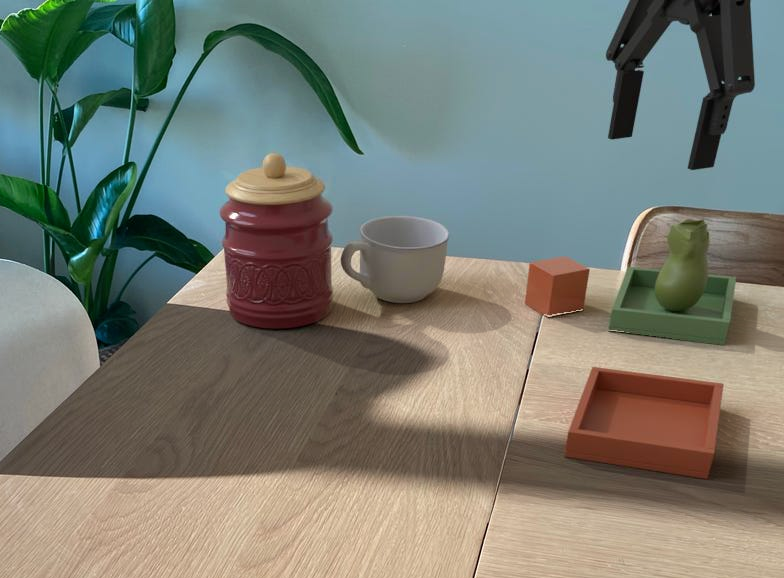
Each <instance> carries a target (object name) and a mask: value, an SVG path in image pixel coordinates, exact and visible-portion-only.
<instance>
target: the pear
mask: <svg viewBox="0 0 784 578" xmlns="http://www.w3.org/2000/svg"><path fill="white" fill-rule="evenodd" d="M707 229H708V223H706V222H705V220H704V219H700V220H695V219H693V218H687V219H685V220H683V221H682V222H680V223H676V224H674V225H671V227H670V230H669V232H668V233H667V238H666V239H667V245H668V248H669V255H668V258H667V259H666V260H665V262H664V264H663V266H662V268H661V269H660V270H661V271H660V273H659V275H658V277H657V280H656V283H655V296H656V299H657V301H658V303H659V304H660V305H661V306H662V307H664V308H665V309H668V310H671V311H683V310H686V309H689V308H691V307H692V306H694V305H695V304H696V303H697V302H698V301H699V299H700V298H701V296H702V294H703V292H704V290H705V287H706V284H707V279H708V274H709V262H708V251H709V248H710V232H709V231H708V230H707Z"/></svg>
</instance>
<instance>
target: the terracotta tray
mask: <svg viewBox="0 0 784 578" xmlns="http://www.w3.org/2000/svg"><path fill="white" fill-rule="evenodd" d="M723 390H724V383H721V382H714V381H707V380H700V379H699V380H698V379H693V378H692V379H691V378H683V377H674V376H667V375H660V374H652V373H643V372H636V371H630V370H629V371H627V370H622V369H621V370H620V369H613V368H605V367H597V366H592V367H591V369H590V372H589V375H588V377H587V380H586V383H585V385H584V388H583V391H582V394H581V395H580V399H579V401H578V404H577V407H576V409H575V412H574V415H573V418H572V420H571V423H570V426H569V428H568V431H567V435H566V436H567V437H566V443H565V447H564V448H565V449H564V455H563V457H565V458H569V459H577V460H583V461H589V462H595V463H602V464H608V465H614V466H620V467H621V466H622V467H627V468H633V469H634V468H635V469H640V470H646V471H653V472H660V473H666V474H673V475H678V476H685V477H690V478H691V477H692V478H697V479H703V480H708V479H709V474H710V472H711V471H710V470H711V467H712V464H713V461H714V456H715V451H716V444H717V437H718V429H719V422H720V414H721V408H722V407H721V406H722V398H723V392H724V391H723Z"/></svg>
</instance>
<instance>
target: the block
mask: <svg viewBox="0 0 784 578" xmlns="http://www.w3.org/2000/svg"><path fill="white" fill-rule="evenodd" d="M590 270H591V268H589V267H587V266H585V265H583V264H581V263H580V262H577V261H576V260H573V259H571V258H570V257H568V256H567V255H563V256H557V257H552V258H547V259H542V260H541V259H540V260H535V261H530V262H529V266H528V273H527V280H526V281H527V282H526V289H525V299H524V305H525V306H528V307H529V308H531V309H532V310H534V311H535V312H537V313H539V314H540V315H542V316H544V314H547V315H552V314H557V313H564V312H571V311H576V310H581V309H583V310H584V307H585V302H586V295H587V289H588V283H589V277H590Z"/></svg>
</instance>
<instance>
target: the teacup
mask: <svg viewBox="0 0 784 578" xmlns="http://www.w3.org/2000/svg"><path fill="white" fill-rule="evenodd" d="M359 234H360V240H354V241H351V242H349V243H347V244H346V246H345V247H344V248H343V250H342V252H341V255H340V264H341V268H342V270H343V271H344V273H345V274H346V275H347V276H348V277H350V278H351V279H353V280H355V281H357V282H359V283H360V284H361V287H363V288H364V289H367V290H369V291H371V293H372V294H373V295H374V296H375V297H376V298H377V299H379V300H382V301H384V302H388V303H393V304H409V303H416V302H419V301H421V300H423V299H425V298H427V296H428V295H430V294H431V293H433V292H435V290H436V289H437V288H438V287H439V286H440V284H441V282H442V279H443V276H444V272H445V266H446V258H447V249H448V241H449V239H450V232H449V230H448V229H447V228H446V227H445V226H444V225H443V224H442V223H439V222H437V221H435V220H432V219H428V218H425V217H424V218H423V217H418V216H411V215H388V216H380V217H376V218H373V219H370V220H368V221H366V222H365V223H362V225H361V226H360V228H359ZM356 252H359V272H358V271H356V270H355V269H353V268H354V267H352V258H353V255H354V254H355V253H356Z"/></svg>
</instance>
